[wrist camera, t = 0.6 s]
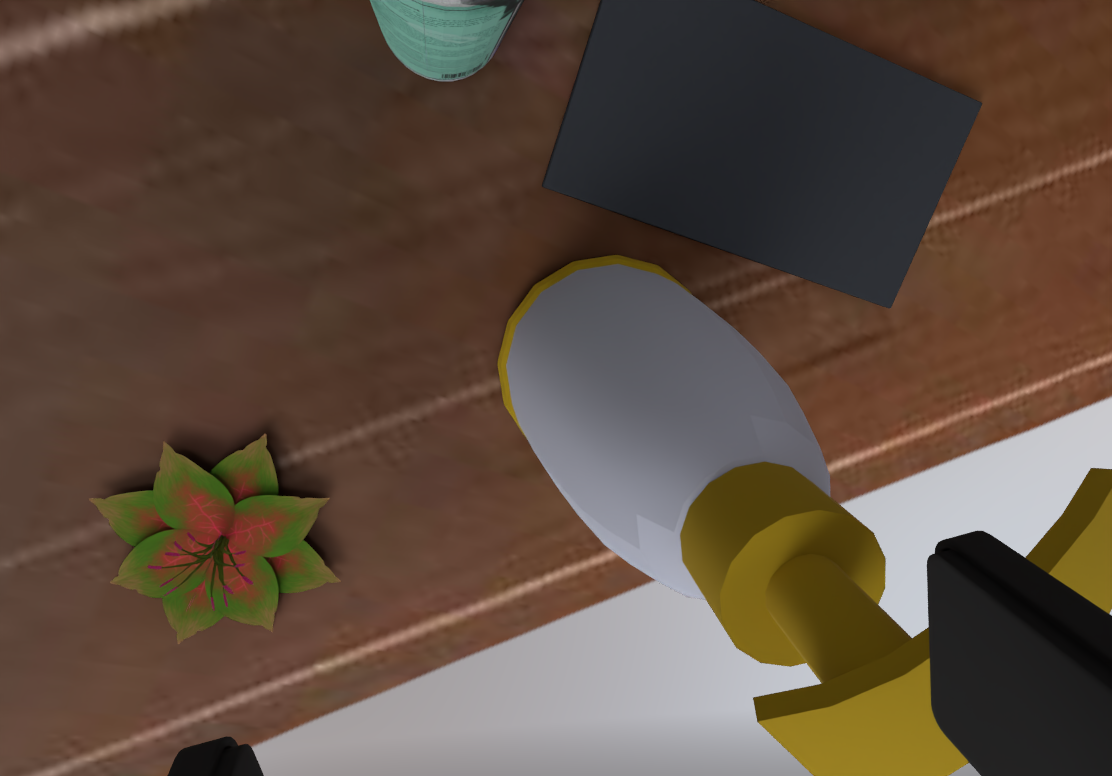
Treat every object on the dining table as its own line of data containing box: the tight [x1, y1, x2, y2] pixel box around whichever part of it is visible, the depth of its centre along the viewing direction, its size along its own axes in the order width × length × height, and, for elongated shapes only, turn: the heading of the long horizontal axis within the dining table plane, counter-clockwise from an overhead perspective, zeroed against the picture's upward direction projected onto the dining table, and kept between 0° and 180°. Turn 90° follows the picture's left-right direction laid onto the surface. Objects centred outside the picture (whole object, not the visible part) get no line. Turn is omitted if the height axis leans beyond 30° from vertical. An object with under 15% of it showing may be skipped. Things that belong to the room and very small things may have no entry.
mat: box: [542, 0, 982, 308], centre depth 36 cm, size 11×20×1 cm, turn 71°
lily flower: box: [89, 434, 341, 644], centre depth 35 cm, size 12×12×5 cm
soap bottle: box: [497, 255, 1112, 776], centre depth 25 cm, size 11×12×26 cm
